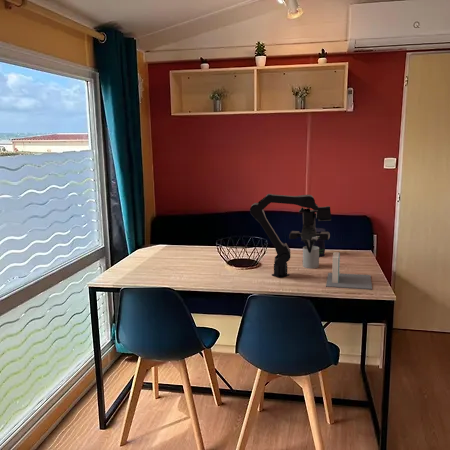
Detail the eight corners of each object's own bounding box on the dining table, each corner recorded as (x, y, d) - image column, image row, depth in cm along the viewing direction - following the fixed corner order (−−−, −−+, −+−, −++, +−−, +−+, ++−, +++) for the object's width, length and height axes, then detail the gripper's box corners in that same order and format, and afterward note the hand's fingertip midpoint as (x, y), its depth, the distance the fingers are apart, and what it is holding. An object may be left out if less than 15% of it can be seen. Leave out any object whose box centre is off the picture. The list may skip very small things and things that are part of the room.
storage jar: (320, 258, 254) (320, 232, 251) (304, 256, 260) (304, 230, 257) (327, 254, 262) (328, 228, 259) (312, 252, 268) (312, 227, 265)
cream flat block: (332, 282, 212) (332, 257, 209) (333, 276, 221) (333, 252, 219) (338, 283, 211) (339, 257, 209) (339, 276, 220) (339, 252, 218)
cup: (300, 267, 239) (300, 248, 237) (305, 263, 246) (305, 245, 244) (316, 269, 235) (316, 250, 233) (320, 265, 242) (321, 246, 240)
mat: (325, 286, 208) (326, 285, 208) (328, 273, 227) (328, 272, 227) (372, 289, 203) (372, 288, 202) (370, 275, 221) (370, 274, 221)
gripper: (286, 224, 215) (287, 256, 218) (326, 225, 208) (326, 258, 211) (291, 219, 225) (292, 250, 228) (329, 220, 218) (330, 251, 222)
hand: (309, 252), depth 222 cm, fingers closed
